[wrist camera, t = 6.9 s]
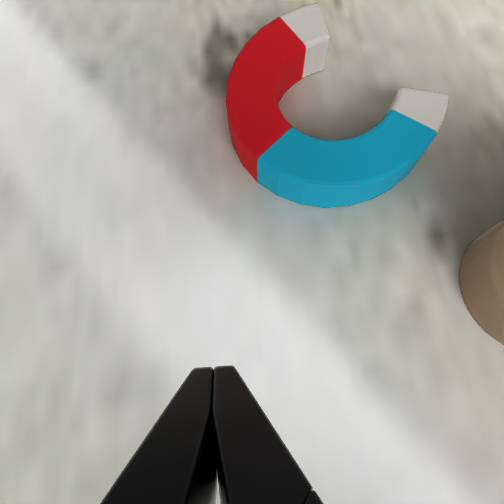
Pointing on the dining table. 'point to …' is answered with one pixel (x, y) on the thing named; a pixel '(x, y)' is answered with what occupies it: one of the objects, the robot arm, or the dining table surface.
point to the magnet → (309, 148)
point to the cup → (485, 280)
